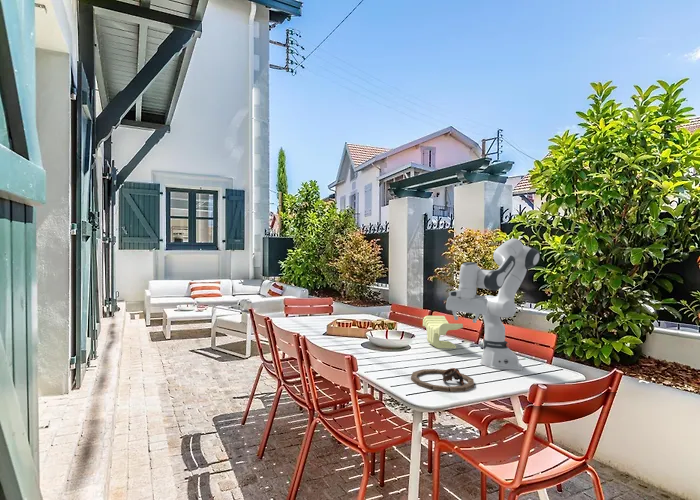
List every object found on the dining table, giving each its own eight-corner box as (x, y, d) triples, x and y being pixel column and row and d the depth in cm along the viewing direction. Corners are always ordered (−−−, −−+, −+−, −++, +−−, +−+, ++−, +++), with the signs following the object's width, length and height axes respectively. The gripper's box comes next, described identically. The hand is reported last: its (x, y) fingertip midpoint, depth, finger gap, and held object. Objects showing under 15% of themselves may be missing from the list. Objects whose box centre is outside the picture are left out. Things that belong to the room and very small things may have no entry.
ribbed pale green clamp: (422, 340, 294) (423, 315, 294) (443, 340, 297) (444, 315, 297) (438, 351, 264) (439, 323, 264) (461, 351, 267) (462, 323, 267)
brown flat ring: (472, 376, 214) (472, 372, 214) (474, 394, 185) (474, 391, 185) (414, 369, 221) (415, 366, 221) (408, 386, 193) (408, 383, 193)
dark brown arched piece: (464, 389, 194) (455, 373, 194) (446, 394, 199) (438, 379, 198) (468, 376, 205) (460, 361, 205) (450, 381, 209) (443, 366, 209)
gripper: (489, 296, 208) (487, 323, 207) (449, 291, 219) (448, 317, 219) (486, 296, 202) (484, 325, 202) (445, 292, 213) (443, 318, 213)
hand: (465, 321), depth 210 cm, fingers open, 8 cm apart
